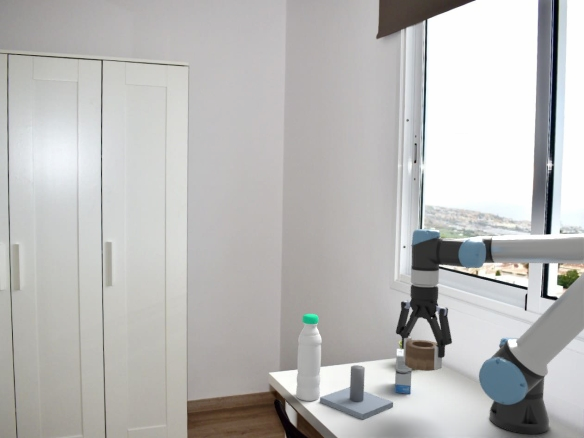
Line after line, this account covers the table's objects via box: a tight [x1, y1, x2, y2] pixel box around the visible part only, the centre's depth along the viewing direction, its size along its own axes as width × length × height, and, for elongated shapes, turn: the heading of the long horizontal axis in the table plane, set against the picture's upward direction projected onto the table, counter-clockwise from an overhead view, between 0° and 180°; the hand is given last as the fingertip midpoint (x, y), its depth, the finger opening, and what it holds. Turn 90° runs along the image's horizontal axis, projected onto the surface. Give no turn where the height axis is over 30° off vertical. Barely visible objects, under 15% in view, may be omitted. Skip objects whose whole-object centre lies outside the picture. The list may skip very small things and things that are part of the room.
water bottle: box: [295, 313, 322, 402], centre depth 165 cm, size 7×7×25 cm
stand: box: [319, 364, 394, 420], centre depth 160 cm, size 16×14×11 cm
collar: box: [405, 339, 437, 372], centre depth 154 cm, size 9×9×6 cm
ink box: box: [394, 348, 413, 395], centre depth 175 cm, size 8×5×12 cm, turn 168°
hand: (422, 364), depth 154 cm, fingers closed on collar, 9 cm apart
